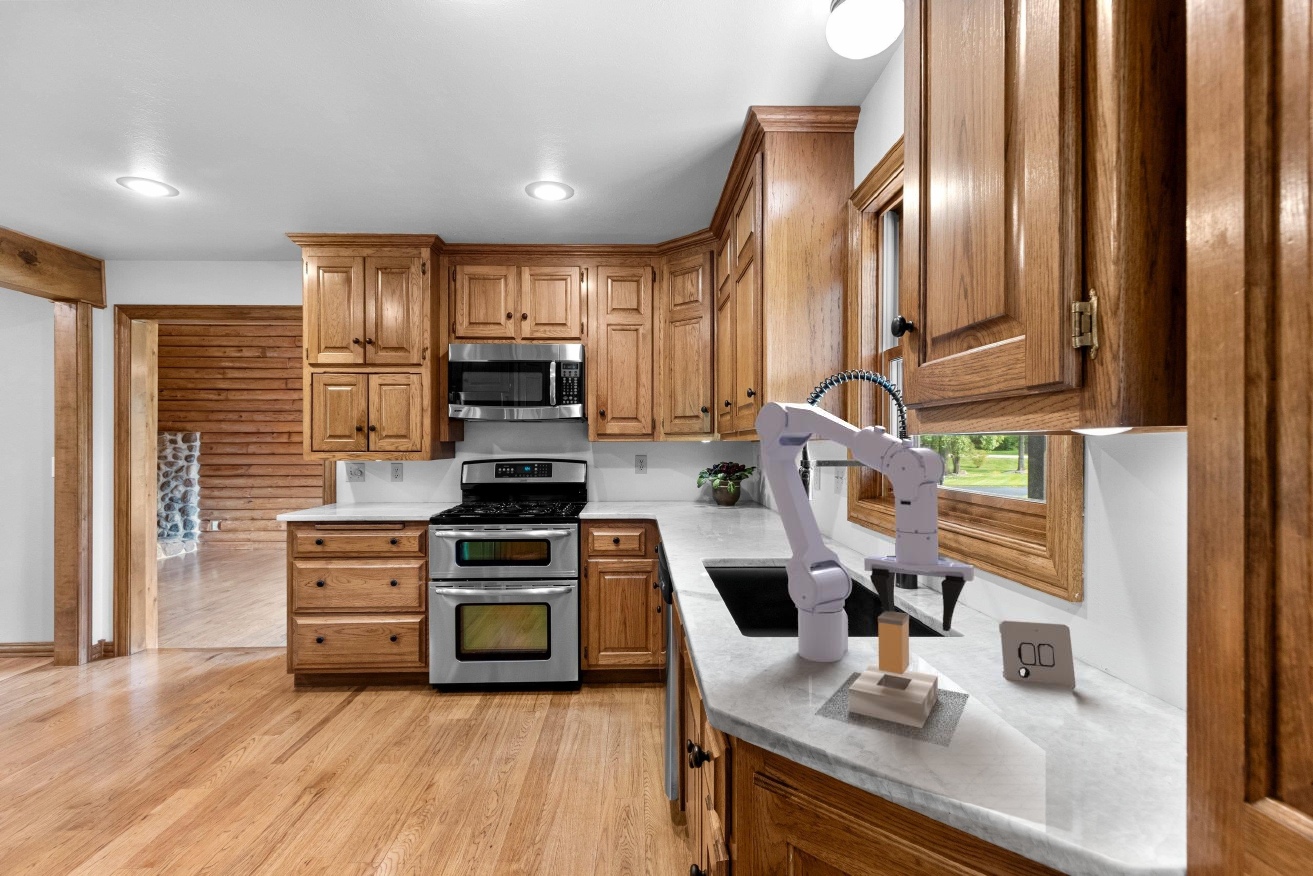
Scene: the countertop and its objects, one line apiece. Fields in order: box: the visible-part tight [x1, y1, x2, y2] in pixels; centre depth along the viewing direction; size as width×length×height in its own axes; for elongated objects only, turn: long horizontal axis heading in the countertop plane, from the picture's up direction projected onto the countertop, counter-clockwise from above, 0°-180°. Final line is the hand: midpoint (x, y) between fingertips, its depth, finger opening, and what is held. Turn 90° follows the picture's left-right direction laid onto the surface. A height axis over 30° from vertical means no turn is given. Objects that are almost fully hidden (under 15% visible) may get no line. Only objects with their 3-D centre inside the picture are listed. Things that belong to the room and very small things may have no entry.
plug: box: [877, 611, 910, 674], centre depth 85 cm, size 4×3×7 cm
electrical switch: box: [998, 620, 1077, 690], centre depth 95 cm, size 9×5×9 cm, turn 74°
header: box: [815, 663, 970, 748], centre depth 84 cm, size 18×16×4 cm
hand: (918, 625), depth 91 cm, fingers open, 7 cm apart
